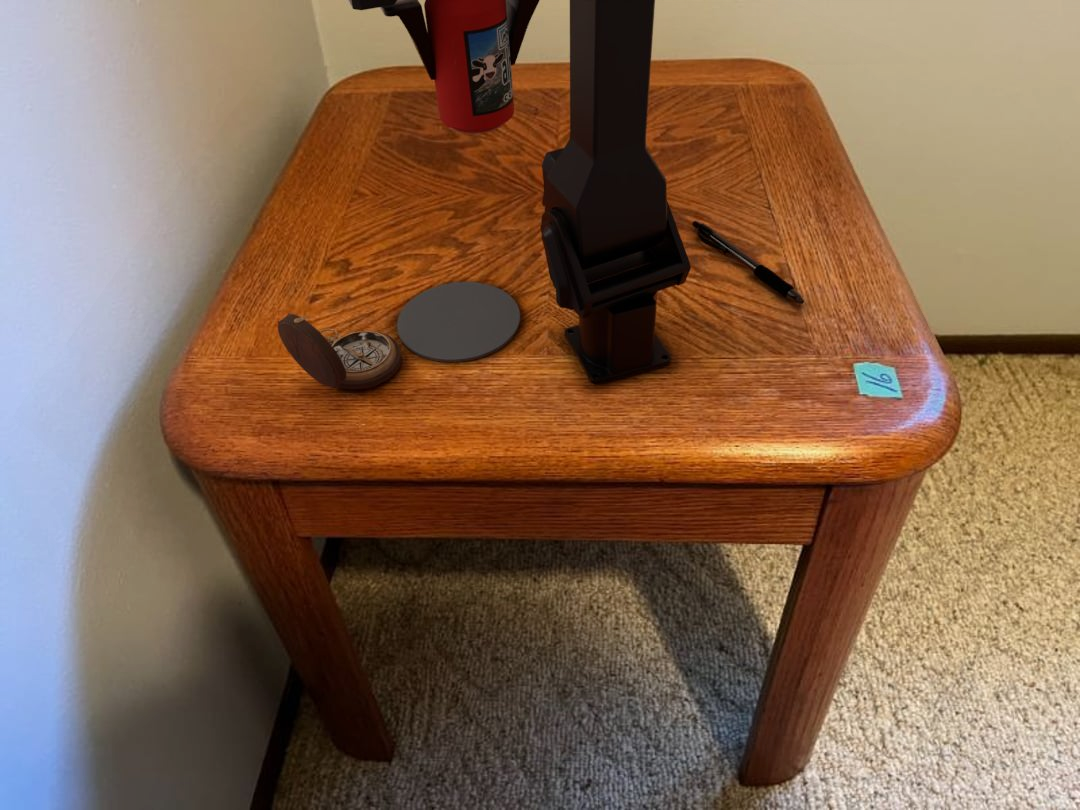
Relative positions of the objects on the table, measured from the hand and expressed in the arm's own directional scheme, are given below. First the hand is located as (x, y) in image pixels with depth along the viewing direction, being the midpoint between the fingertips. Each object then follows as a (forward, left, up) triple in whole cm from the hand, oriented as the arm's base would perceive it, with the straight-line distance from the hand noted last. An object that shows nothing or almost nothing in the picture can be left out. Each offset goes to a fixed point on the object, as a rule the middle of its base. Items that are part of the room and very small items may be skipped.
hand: (472, 70), depth 74 cm
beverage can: (0, 0, -5) cm, 5 cm away
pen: (-20, -17, -13) cm, 29 cm away
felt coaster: (-18, +7, -13) cm, 23 cm away
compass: (-20, +17, -13) cm, 29 cm away
